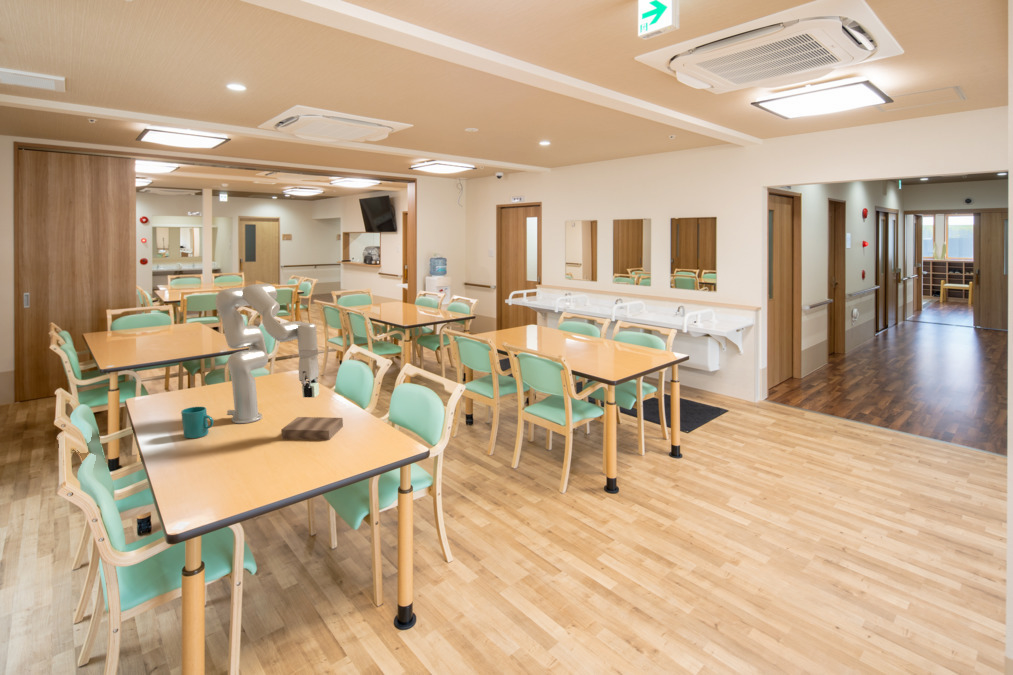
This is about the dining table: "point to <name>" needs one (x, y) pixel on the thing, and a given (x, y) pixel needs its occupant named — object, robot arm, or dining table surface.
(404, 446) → the dining table surface
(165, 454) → the dining table surface
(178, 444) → the dining table surface
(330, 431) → the walnut plinth
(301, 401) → the dining table surface
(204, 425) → the cup
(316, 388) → the sage cube
